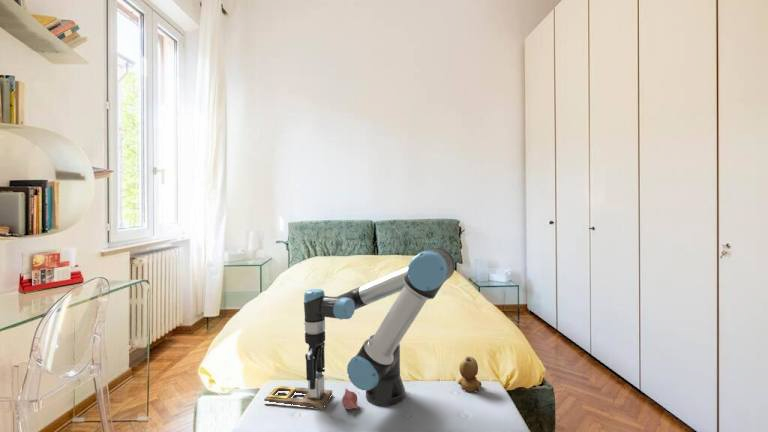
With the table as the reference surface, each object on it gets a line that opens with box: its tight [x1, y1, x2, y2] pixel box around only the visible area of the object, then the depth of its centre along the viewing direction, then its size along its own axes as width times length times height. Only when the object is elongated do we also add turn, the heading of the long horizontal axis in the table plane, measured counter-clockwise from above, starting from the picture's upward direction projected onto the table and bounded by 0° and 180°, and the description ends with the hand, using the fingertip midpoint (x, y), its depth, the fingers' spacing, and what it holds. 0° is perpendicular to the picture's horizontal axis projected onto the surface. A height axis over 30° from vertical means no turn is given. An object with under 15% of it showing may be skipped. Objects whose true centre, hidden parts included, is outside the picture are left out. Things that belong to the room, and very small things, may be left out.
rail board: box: [263, 385, 333, 410], centre depth 133 cm, size 23×10×2 cm, turn 79°
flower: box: [341, 388, 359, 410], centre depth 127 cm, size 8×8×6 cm
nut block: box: [307, 374, 325, 400], centre depth 132 cm, size 4×4×9 cm
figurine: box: [457, 356, 482, 393], centre depth 138 cm, size 10×8×15 cm
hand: (316, 393), depth 132 cm, fingers closed on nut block, 4 cm apart
